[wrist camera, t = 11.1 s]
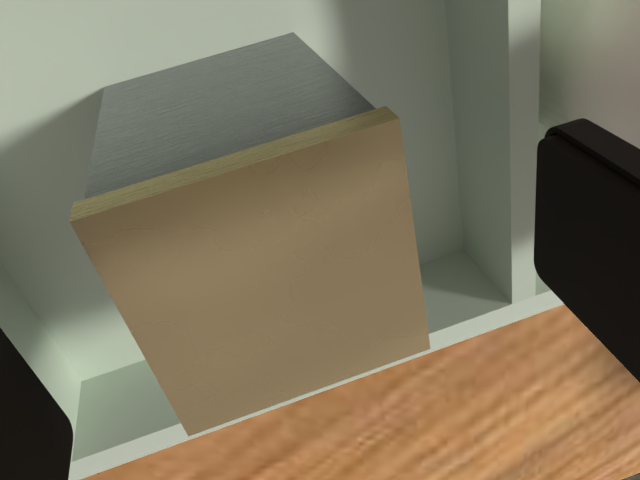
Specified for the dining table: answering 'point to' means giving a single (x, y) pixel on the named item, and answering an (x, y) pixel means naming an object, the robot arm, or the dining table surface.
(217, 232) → the tin
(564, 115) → the canister
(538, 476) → the dining table surface
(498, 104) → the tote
